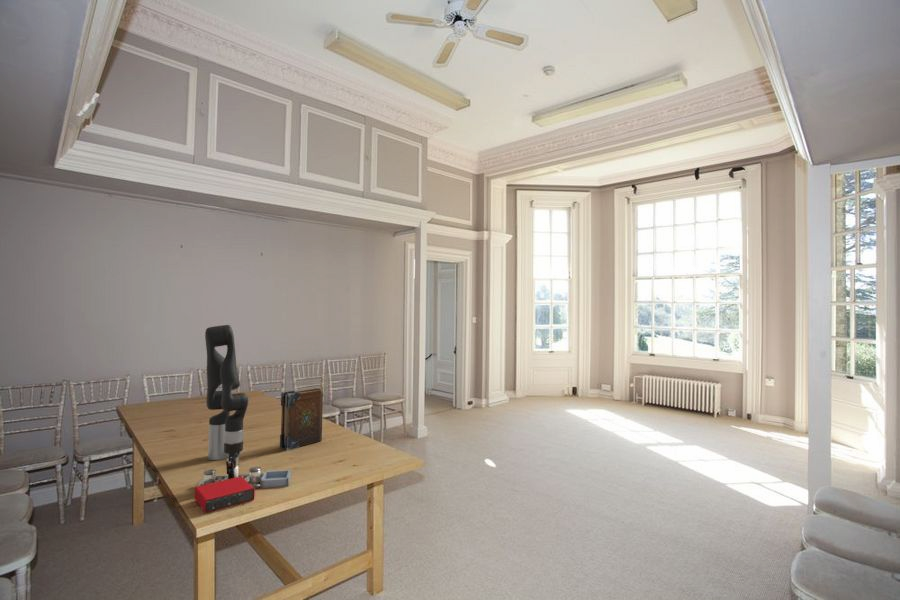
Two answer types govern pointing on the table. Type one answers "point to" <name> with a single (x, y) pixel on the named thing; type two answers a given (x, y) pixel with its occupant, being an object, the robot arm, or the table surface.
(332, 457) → the table surface
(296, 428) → the decorative book
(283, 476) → the tray
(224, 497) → the red device housing
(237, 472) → the halved boiled egg
